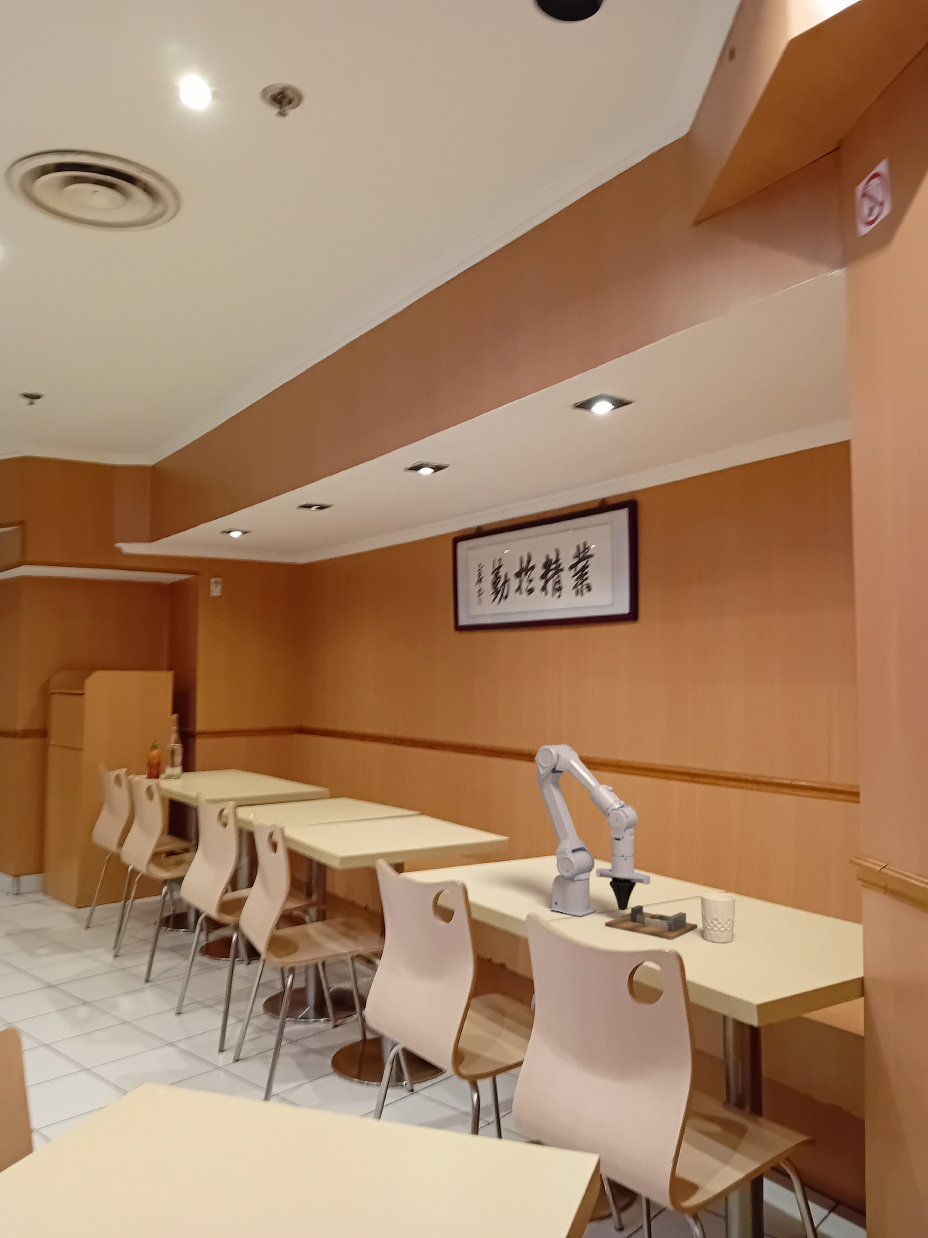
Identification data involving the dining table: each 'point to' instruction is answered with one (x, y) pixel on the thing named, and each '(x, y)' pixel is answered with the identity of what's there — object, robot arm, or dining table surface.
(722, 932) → the white cup
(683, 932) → the walnut board
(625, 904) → the robot arm
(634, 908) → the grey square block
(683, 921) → the gauge body
